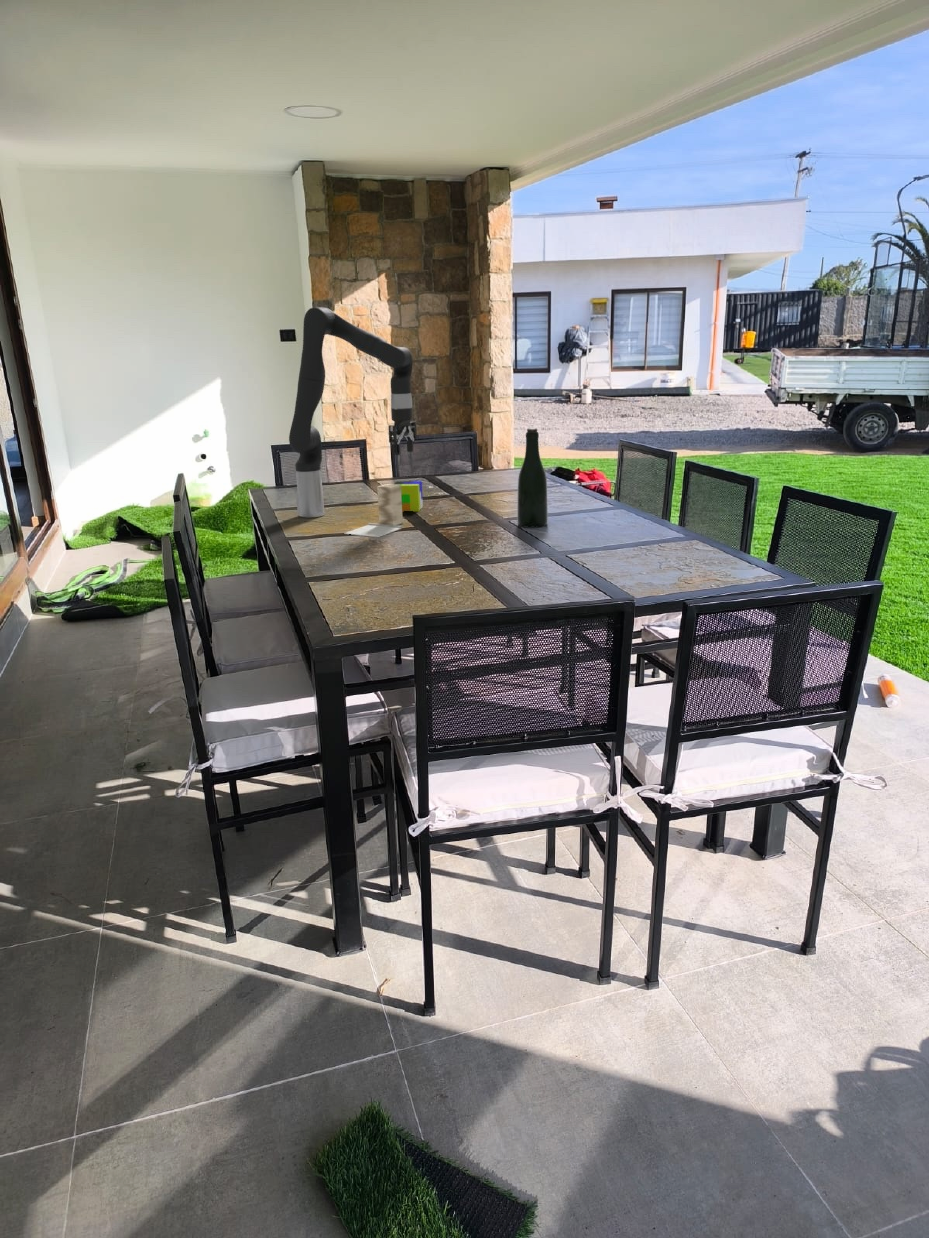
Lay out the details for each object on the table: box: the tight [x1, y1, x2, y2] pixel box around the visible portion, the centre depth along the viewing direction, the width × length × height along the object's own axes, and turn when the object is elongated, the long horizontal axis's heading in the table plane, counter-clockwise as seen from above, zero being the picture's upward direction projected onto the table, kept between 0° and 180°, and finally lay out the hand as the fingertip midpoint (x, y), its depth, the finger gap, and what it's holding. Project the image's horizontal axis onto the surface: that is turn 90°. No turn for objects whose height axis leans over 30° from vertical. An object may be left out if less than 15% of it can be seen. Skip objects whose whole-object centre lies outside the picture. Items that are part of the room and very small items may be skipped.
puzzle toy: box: [393, 480, 424, 513], centre depth 324 cm, size 10×10×10 cm
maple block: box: [376, 483, 404, 526], centre depth 296 cm, size 6×6×14 cm
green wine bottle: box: [516, 427, 548, 528], centre depth 286 cm, size 10×10×33 cm
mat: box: [343, 522, 403, 538], centre depth 289 cm, size 14×15×1 cm
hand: (403, 453), depth 299 cm, fingers open, 8 cm apart
